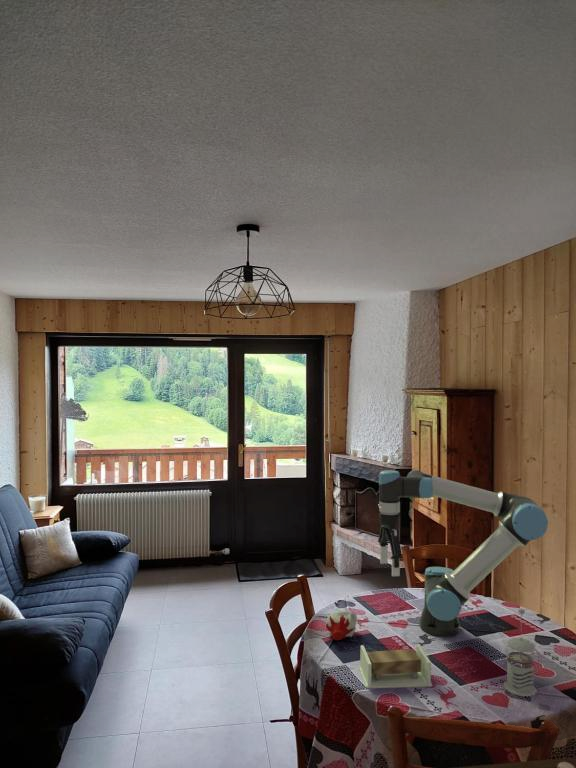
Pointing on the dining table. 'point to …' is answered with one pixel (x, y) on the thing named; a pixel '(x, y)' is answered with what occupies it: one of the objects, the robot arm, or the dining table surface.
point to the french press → (516, 680)
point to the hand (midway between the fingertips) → (389, 569)
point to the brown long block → (394, 662)
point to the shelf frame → (396, 679)
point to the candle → (341, 624)
